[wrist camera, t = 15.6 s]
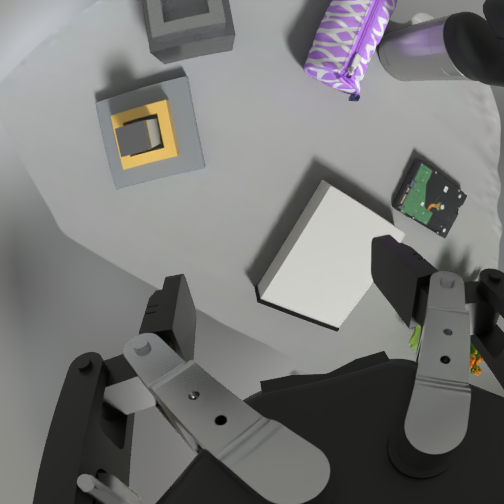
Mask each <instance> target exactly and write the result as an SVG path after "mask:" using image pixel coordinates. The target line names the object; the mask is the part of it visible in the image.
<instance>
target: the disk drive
mask: <svg viewBox="0 0 504 504" xmlns="http://www.w3.org/2000/svg"><path fill="white" fill-rule="evenodd" d="M466 197H467V195H465V194H464V192H462V191H461V190H460V189H458V188H457V187H456V186H455V185H453V184H452V183H451V182H450V181H448V180H447V179H446V178H445V177H443V176H442V175H441V174H439V173H438V172H437V171H435V170H434V169H433V168H432V167H430V166H429V165H427V164H426V163H425V162H423V161H421V160H418V159H415V160H414V163H413V165H412V167H411V169H410V171H409V173H408V175H407V177H406V179H405V181H404V184H403V185H402V187H401V189H400V191H399V193H398V195H397V197H396V199H395V201H394V203H393V205H392V207H393V208H395V209H396V210H398V211H400V212H401V213H403V214H404V215H406V216H407V217H410V218H411V219H413V220H415V221H417V222H418V223H420V224H422V225H423V226H425V227H427V228H428V229H430V230H432V231H433V232H435V233H436V234H438V235H439V236H441V237H443V238H446V236H447V234H448V232H449V230H450V228H451V227H452V225H453V223H454V221H455V219H456V217H457V215H458V210H459V209H458V207H460V206H461V205H463V203H464V201H465V199H466Z"/></svg>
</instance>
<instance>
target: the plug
mask: <svg viewBox="0 0 504 504" xmlns="http://www.w3.org/2000/svg"><path fill="white" fill-rule="evenodd" d="M115 132H116V137H117V141H118V146H119V150H120V154H121V157H124V156H128V155H131V154H135V153H139V152H143V151H146V150H150V149H151V148H153V147H155V146H157V145H158V144H160V143H162V142H163V141H162V136H161V131H160V126H159V121H158V118H157V119H150V120H143V121H140V122H136V123H133V124H129V125H126V126H122V127H119V128H116V129H115Z"/></svg>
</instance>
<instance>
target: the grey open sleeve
mask: <svg viewBox="0 0 504 504" xmlns="http://www.w3.org/2000/svg"><path fill="white" fill-rule="evenodd" d="M142 1H143V8H144V15H145V22H146V29H147V35H148V41H149V48H150V53H151V54H153V55H154V56H155V57H156V58H158V59H159V60H160V61H161V62H163V63H164V64H168V63H172V62H176V61H180V60H184V59H189V58H193V57H198V56H203V55H208V54H214V53H219V52H225V51H231V50H232V48H233V43H234V38H235V31H234V26H233V20H232V15H231V10H230V5H229V0H142Z"/></svg>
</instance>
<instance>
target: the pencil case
mask: <svg viewBox="0 0 504 504" xmlns="http://www.w3.org/2000/svg"><path fill="white" fill-rule="evenodd" d="M396 3H397V0H332V1H331V3H330V5H329V7H328V8H327V10H326V12H325V15H324V17H323V19H322V21H321V23H320V26H319V28H318V30H317V32H316V35H315V38H314V41H313V44H312V46H311V48H310V51H309V54H308V55H307V58H308V59H307V60H306V62H305V64H304V67H303V68H304V71H305V72H306V73H307V74H308V75H310V76H312V77H313V78H315V79H317V80H319V81H321V82H323V83H324V84H326V85H328V86H331V87H333V88H335V89H337V90H339V91H342V92H344V93H347V94H351V96H350V97H349V101H358V100H359V98H360V95H359V94H358V93H359V92H360V81H361V80H362V79H363V77H364V75H365V71H366V70H367V68H368V63H369V61H370V59H371V57H372V55H373V53H374V51H375V49H376V46H377V45H378V44H379V43H380V41H381V38H382V36H383V34H384V31H385V29H386V26H387V24H388V22H389V19H390V17H391V15H392V13H393V11H394V9H395V7H396Z"/></svg>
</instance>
